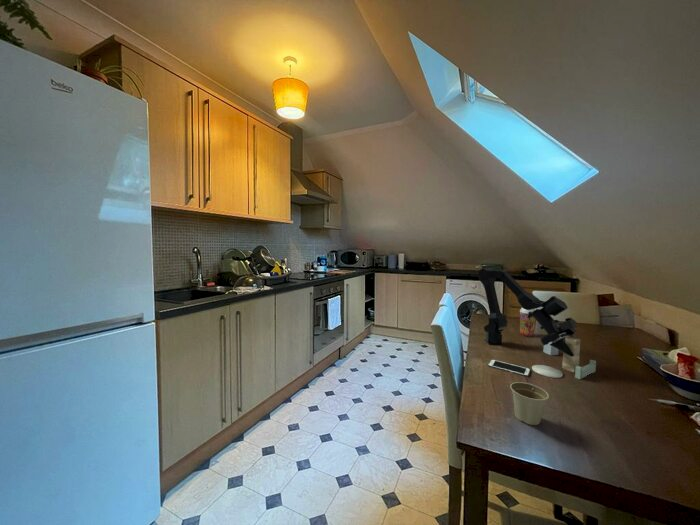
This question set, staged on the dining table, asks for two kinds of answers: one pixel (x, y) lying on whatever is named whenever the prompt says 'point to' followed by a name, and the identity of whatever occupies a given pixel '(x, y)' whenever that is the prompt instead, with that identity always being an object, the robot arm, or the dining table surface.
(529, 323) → the smoothie
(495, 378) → the dining table surface
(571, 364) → the beech block
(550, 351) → the grey block
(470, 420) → the dining table surface
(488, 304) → the robot arm
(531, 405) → the flower pot
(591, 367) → the fence
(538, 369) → the coaster
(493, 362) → the cell phone
